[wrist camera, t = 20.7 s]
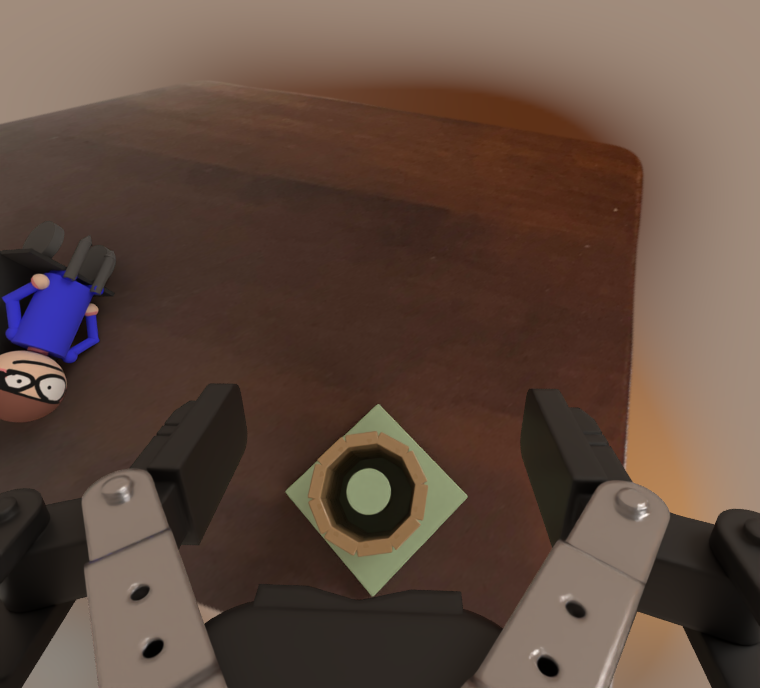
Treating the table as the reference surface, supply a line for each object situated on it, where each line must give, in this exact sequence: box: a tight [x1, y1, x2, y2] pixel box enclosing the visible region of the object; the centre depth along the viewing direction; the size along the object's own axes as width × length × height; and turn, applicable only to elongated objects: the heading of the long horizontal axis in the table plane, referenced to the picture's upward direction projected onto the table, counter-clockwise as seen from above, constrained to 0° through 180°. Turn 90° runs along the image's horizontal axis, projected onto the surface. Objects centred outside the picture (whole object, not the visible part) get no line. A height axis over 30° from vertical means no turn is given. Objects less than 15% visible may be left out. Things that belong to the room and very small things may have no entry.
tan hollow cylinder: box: [308, 431, 428, 557], centre depth 28 cm, size 6×6×8 cm
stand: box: [285, 404, 468, 596], centre depth 29 cm, size 9×9×9 cm
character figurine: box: [0, 221, 116, 422], centre depth 35 cm, size 8×7×15 cm
